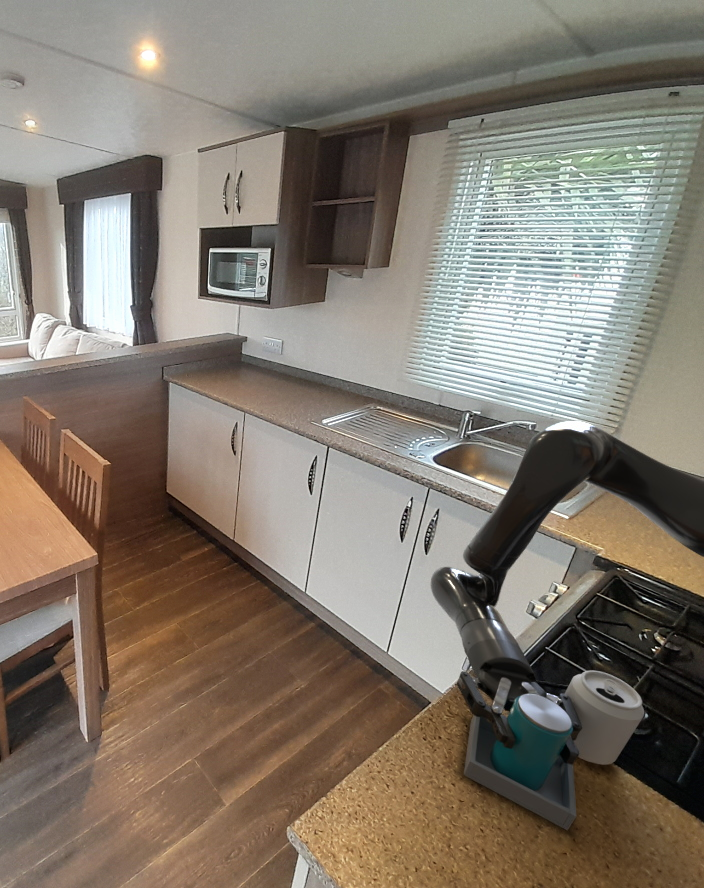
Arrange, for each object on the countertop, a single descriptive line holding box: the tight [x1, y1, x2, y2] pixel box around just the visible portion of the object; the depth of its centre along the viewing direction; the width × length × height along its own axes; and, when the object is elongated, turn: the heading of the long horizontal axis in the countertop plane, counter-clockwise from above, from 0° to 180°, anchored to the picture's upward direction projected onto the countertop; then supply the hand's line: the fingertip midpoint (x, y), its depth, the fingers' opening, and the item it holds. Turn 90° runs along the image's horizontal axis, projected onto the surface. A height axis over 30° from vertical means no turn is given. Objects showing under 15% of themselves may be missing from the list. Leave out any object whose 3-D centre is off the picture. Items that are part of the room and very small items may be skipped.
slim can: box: [490, 694, 573, 791], centre depth 66 cm, size 6×6×12 cm
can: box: [564, 669, 645, 766], centre depth 70 cm, size 8×8×12 cm
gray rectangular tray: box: [463, 715, 577, 831], centre depth 68 cm, size 11×10×3 cm
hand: (540, 751), depth 63 cm, fingers closed on slim can, 6 cm apart
